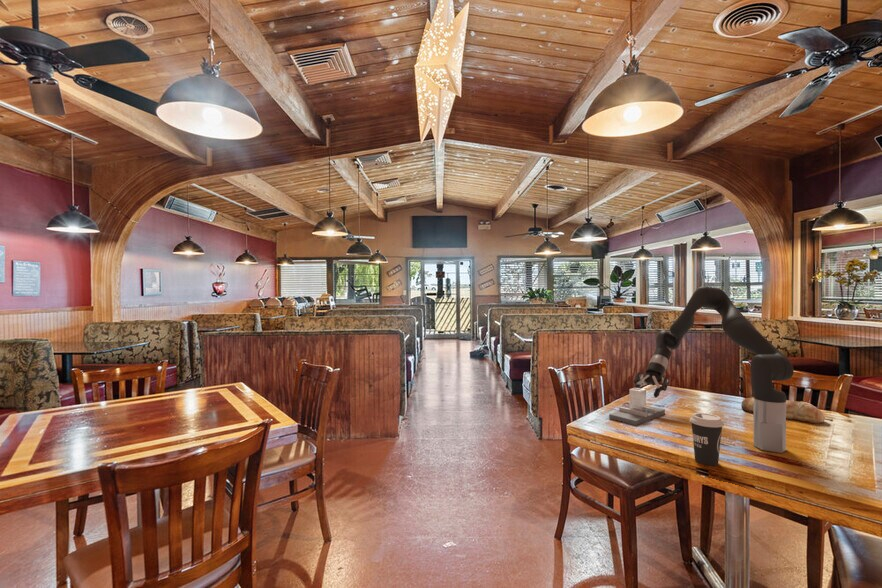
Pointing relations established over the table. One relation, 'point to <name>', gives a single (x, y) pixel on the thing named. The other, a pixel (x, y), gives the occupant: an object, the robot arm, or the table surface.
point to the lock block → (638, 399)
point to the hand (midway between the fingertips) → (645, 394)
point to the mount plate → (636, 415)
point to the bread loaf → (793, 411)
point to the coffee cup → (706, 437)
